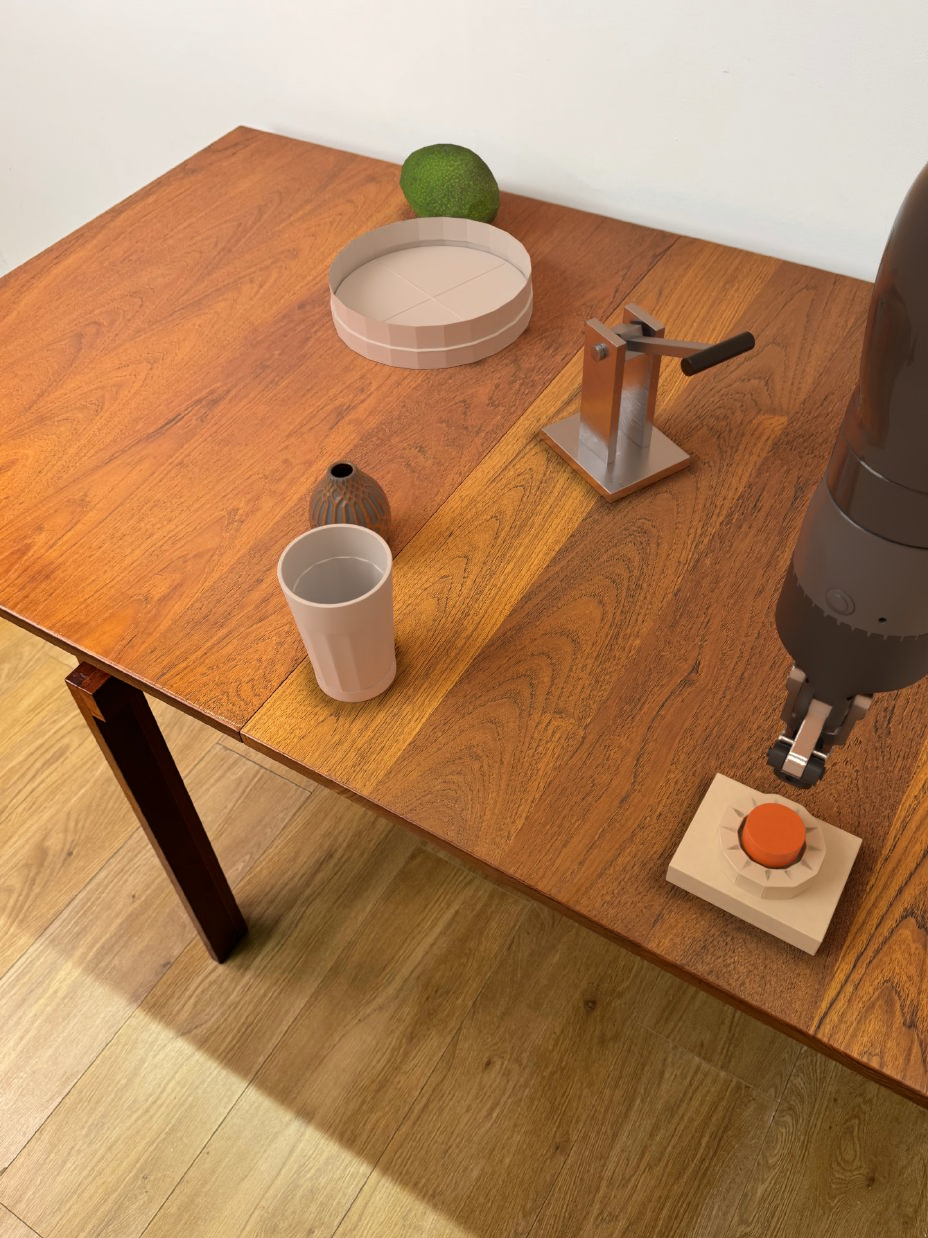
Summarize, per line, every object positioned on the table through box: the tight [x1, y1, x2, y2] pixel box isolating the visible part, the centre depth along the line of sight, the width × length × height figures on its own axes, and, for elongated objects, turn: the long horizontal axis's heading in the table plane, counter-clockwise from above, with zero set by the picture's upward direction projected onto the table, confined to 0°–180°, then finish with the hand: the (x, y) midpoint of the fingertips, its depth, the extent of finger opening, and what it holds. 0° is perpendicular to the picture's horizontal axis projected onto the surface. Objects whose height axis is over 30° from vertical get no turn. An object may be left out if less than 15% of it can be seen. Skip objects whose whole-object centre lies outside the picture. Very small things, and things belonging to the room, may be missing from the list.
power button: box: [742, 803, 806, 867], centre depth 62 cm, size 4×4×2 cm
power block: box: [665, 772, 863, 956], centre depth 64 cm, size 10×8×4 cm
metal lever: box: [608, 322, 756, 378], centre depth 79 cm, size 14×6×2 cm, turn 32°
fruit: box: [399, 143, 501, 225], centre depth 118 cm, size 15×10×10 cm, turn 31°
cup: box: [276, 524, 397, 703], centre depth 73 cm, size 8×8×12 cm
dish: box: [327, 217, 534, 370], centre depth 108 cm, size 22×22×5 cm
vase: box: [308, 459, 392, 543], centre depth 83 cm, size 7×7×9 cm
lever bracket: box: [540, 302, 691, 504], centre depth 88 cm, size 11×9×14 cm
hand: (794, 773), depth 57 cm, fingers closed
